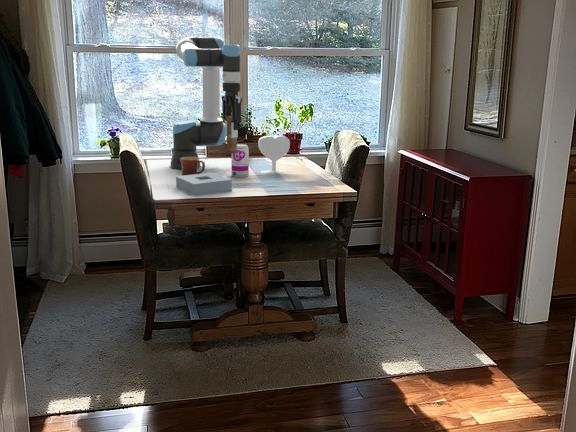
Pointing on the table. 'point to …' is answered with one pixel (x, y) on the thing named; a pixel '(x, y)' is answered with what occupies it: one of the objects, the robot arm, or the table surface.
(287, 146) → the heart sculpture
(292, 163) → the table surface
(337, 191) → the table surface
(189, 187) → the socket block
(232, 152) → the walnut peg
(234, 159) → the supplement can
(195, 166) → the mug
